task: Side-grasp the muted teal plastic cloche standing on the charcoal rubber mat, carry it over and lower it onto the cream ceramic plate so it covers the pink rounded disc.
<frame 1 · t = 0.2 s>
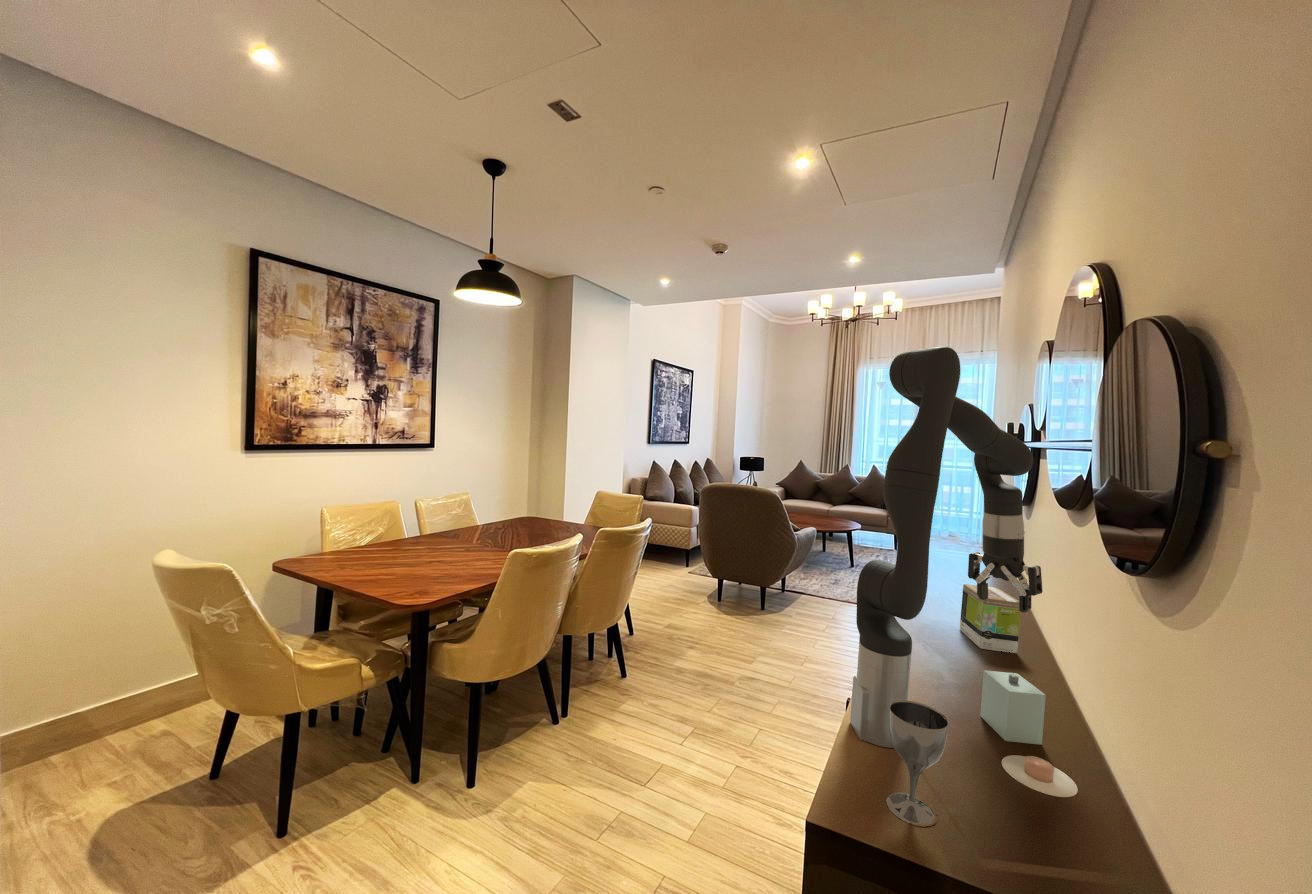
hand: (1003, 605, 111), 22 cm above the table, tool pointing down, fingers open, 8 cm apart
pink rounded disc: (1038, 774, 86), point 1 cm above the table, touching plate
wine glass: (911, 810, 78), on the table
tea box: (986, 642, 148), on the table
cloche: (1009, 731, 100), resting on mat
mat: (1009, 733, 100), on the table
plate: (1037, 779, 86), on the table
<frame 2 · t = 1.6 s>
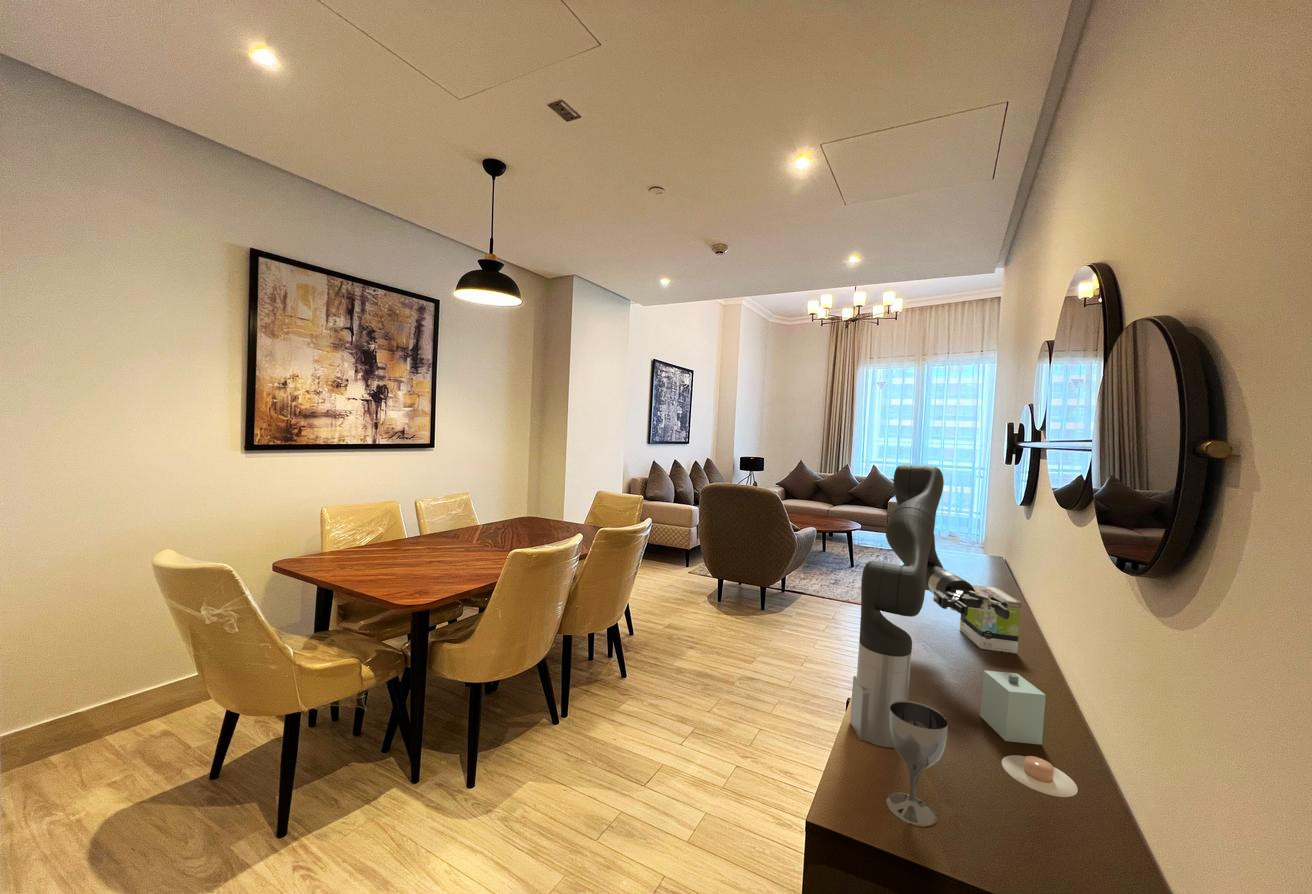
hand: (986, 613, 110), 20 cm above the table, tool horizontal, fingers open, 8 cm apart
nothing on the table moved.
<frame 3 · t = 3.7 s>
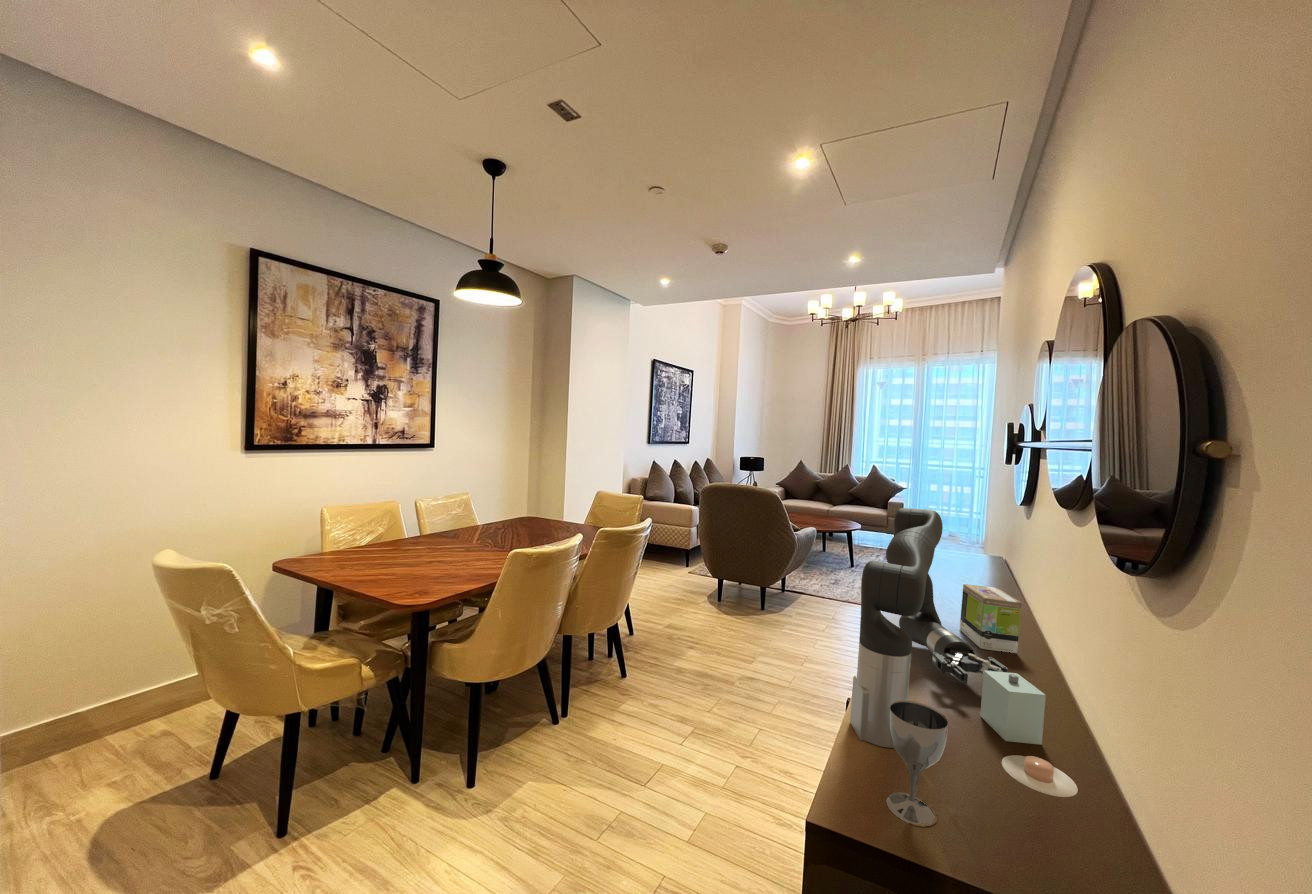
hand: (986, 680, 108), 6 cm above the table, tool horizontal, fingers open, 8 cm apart
nothing on the table moved.
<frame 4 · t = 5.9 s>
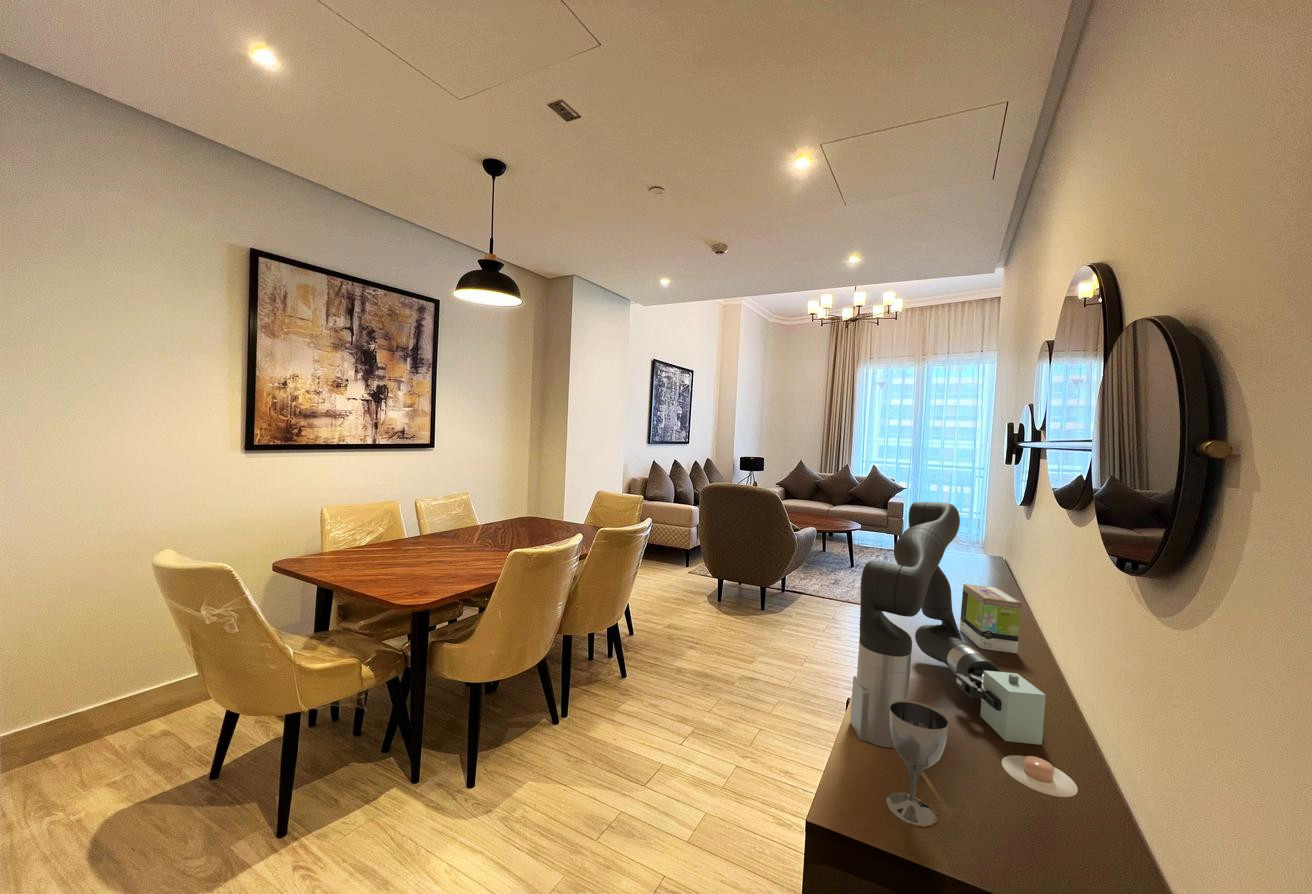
hand: (1019, 708, 98), 6 cm above the table, tool horizontal, fingers closed on cloche, 6 cm apart
cloche: (1009, 731, 100), resting on mat, touching gripper
everything else where it was.
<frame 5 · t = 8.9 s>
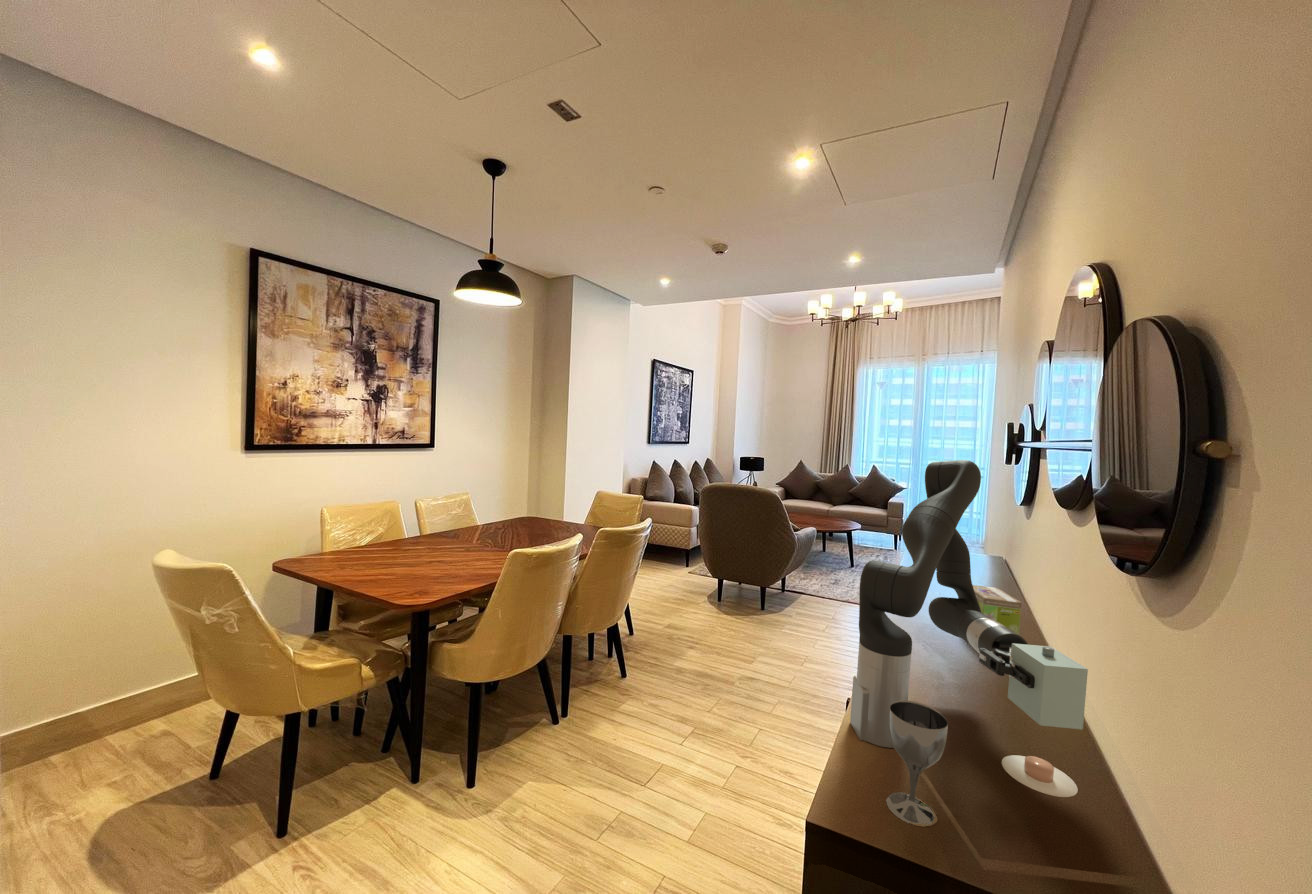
hand: (1055, 685, 84), 18 cm above the table, tool horizontal, fingers closed on cloche, 6 cm apart
cloche: (1043, 712, 86), point 12 cm above the table, touching gripper
everything else where it was.
when the fingers open (8 cm above the table, at t = 11.7 s): cloche drops 1 cm, resting on plate.
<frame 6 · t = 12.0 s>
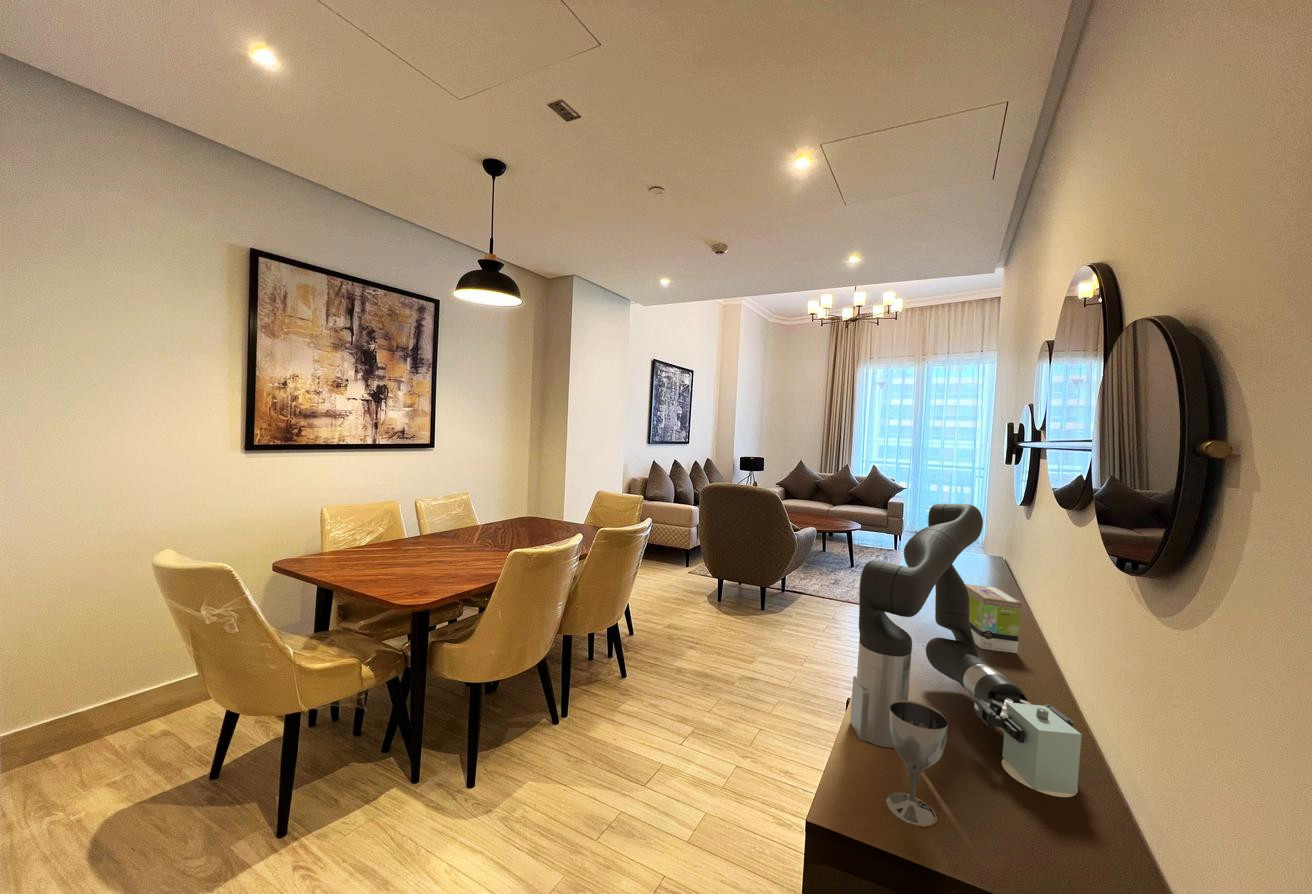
hand: (1049, 740, 84), 8 cm above the table, tool horizontal, fingers open, 8 cm apart
cloche: (1037, 774, 86), point 1 cm above the table, touching plate
everything else where it was.
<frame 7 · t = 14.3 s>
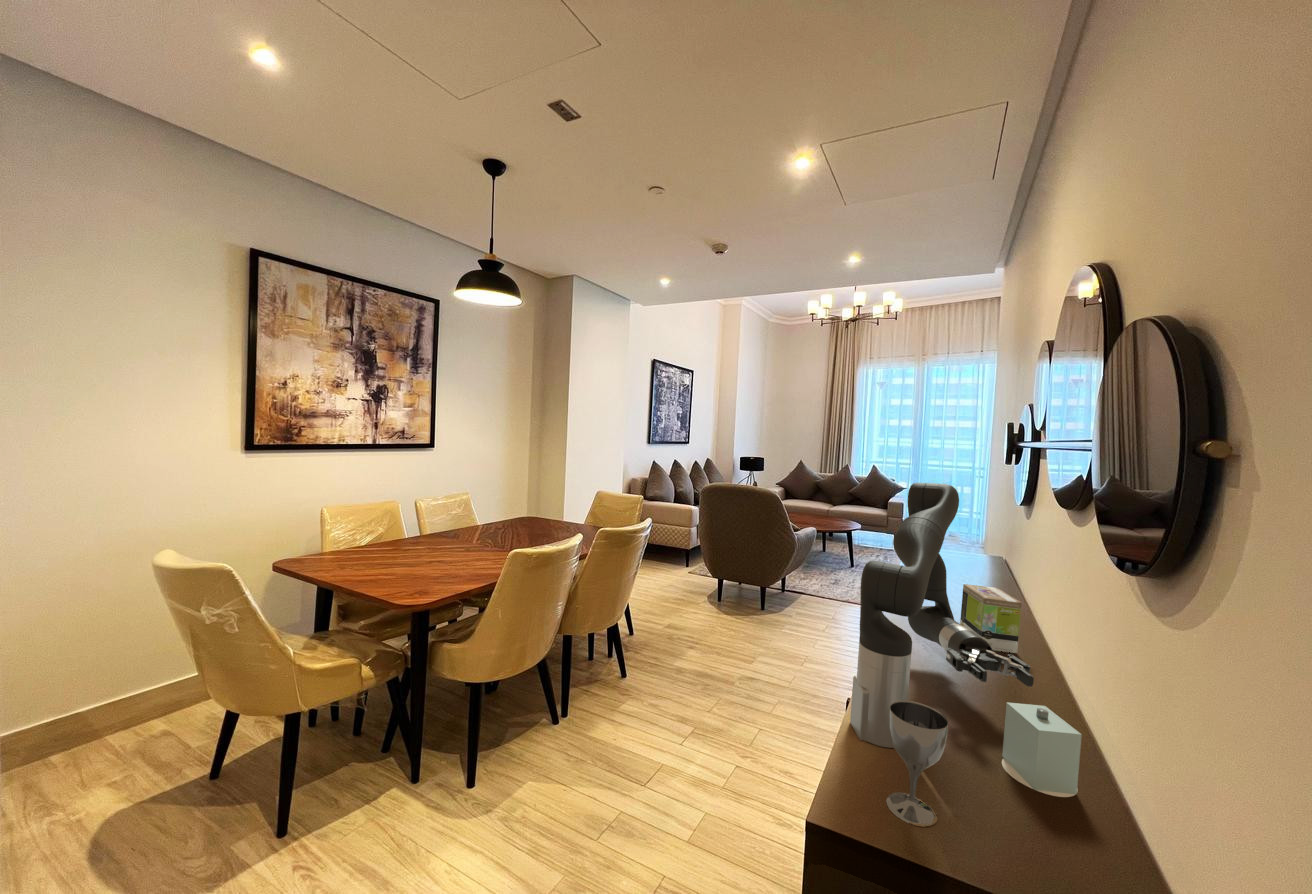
hand: (1007, 679, 98), 12 cm above the table, tool horizontal, fingers open, 8 cm apart
nothing on the table moved.
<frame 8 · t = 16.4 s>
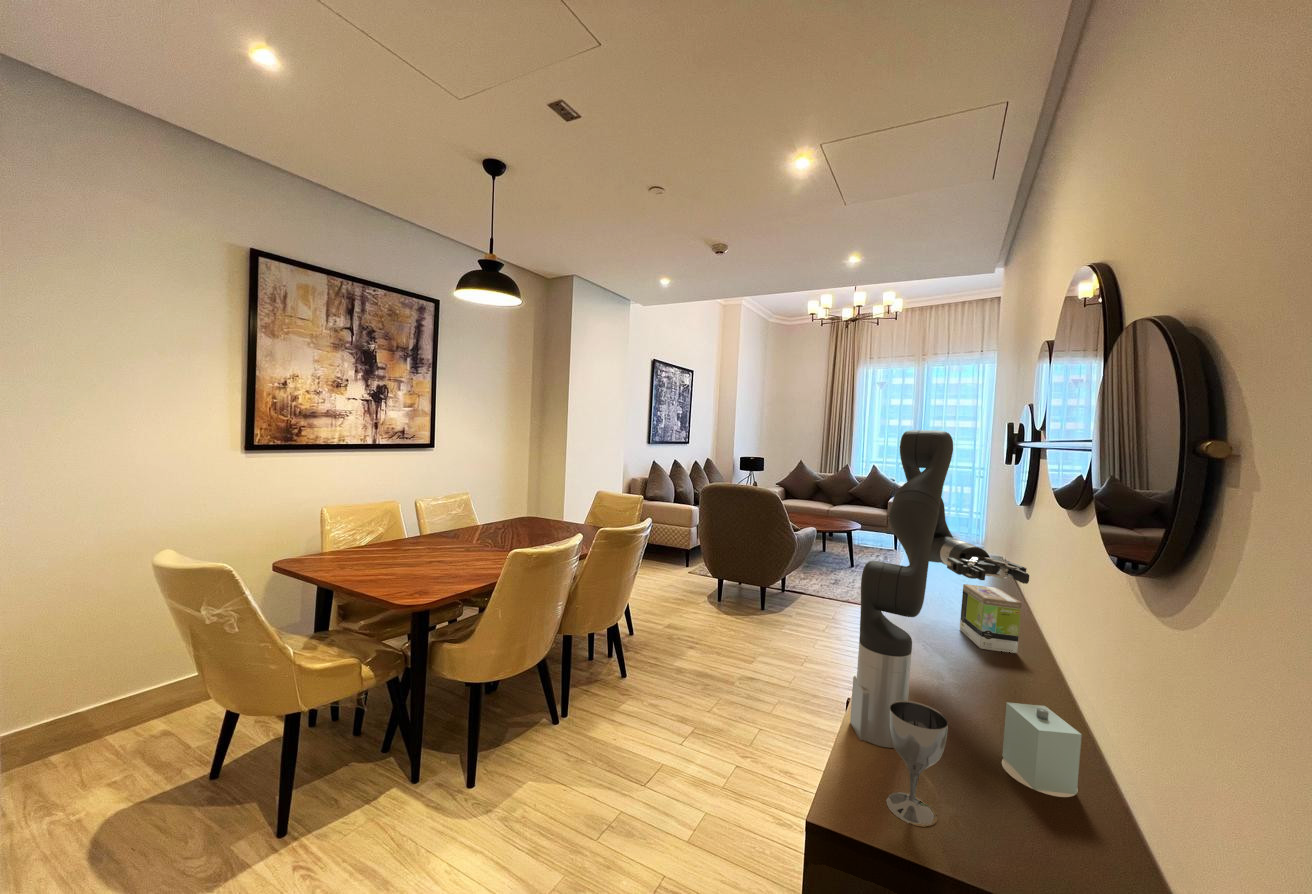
hand: (1005, 577, 104), 30 cm above the table, tool horizontal, fingers open, 8 cm apart
nothing on the table moved.
at the end: cloche 0.1 cm from the pink rounded disc (horizontally); cloche tilted 0°; cloche point 0.8 cm above the table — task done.
